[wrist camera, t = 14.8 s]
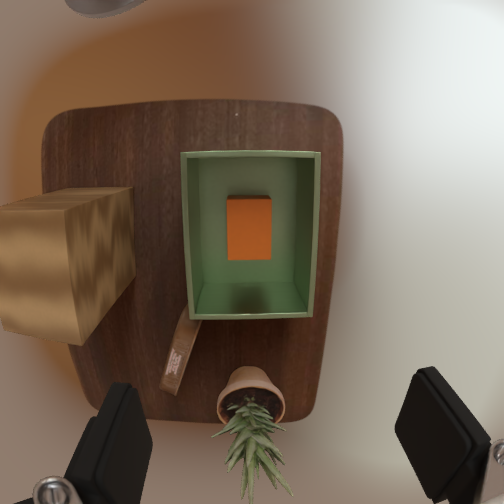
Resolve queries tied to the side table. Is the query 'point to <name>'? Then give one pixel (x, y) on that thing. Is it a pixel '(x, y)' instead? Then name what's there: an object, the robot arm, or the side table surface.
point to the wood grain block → (65, 260)
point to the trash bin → (282, 238)
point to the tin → (179, 352)
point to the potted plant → (252, 424)
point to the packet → (249, 227)
